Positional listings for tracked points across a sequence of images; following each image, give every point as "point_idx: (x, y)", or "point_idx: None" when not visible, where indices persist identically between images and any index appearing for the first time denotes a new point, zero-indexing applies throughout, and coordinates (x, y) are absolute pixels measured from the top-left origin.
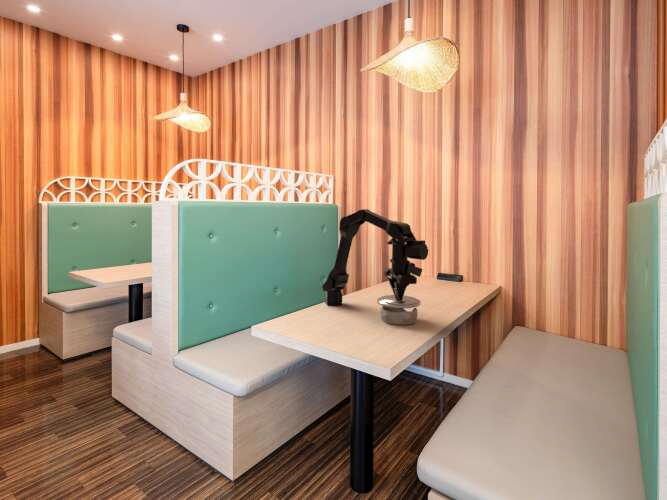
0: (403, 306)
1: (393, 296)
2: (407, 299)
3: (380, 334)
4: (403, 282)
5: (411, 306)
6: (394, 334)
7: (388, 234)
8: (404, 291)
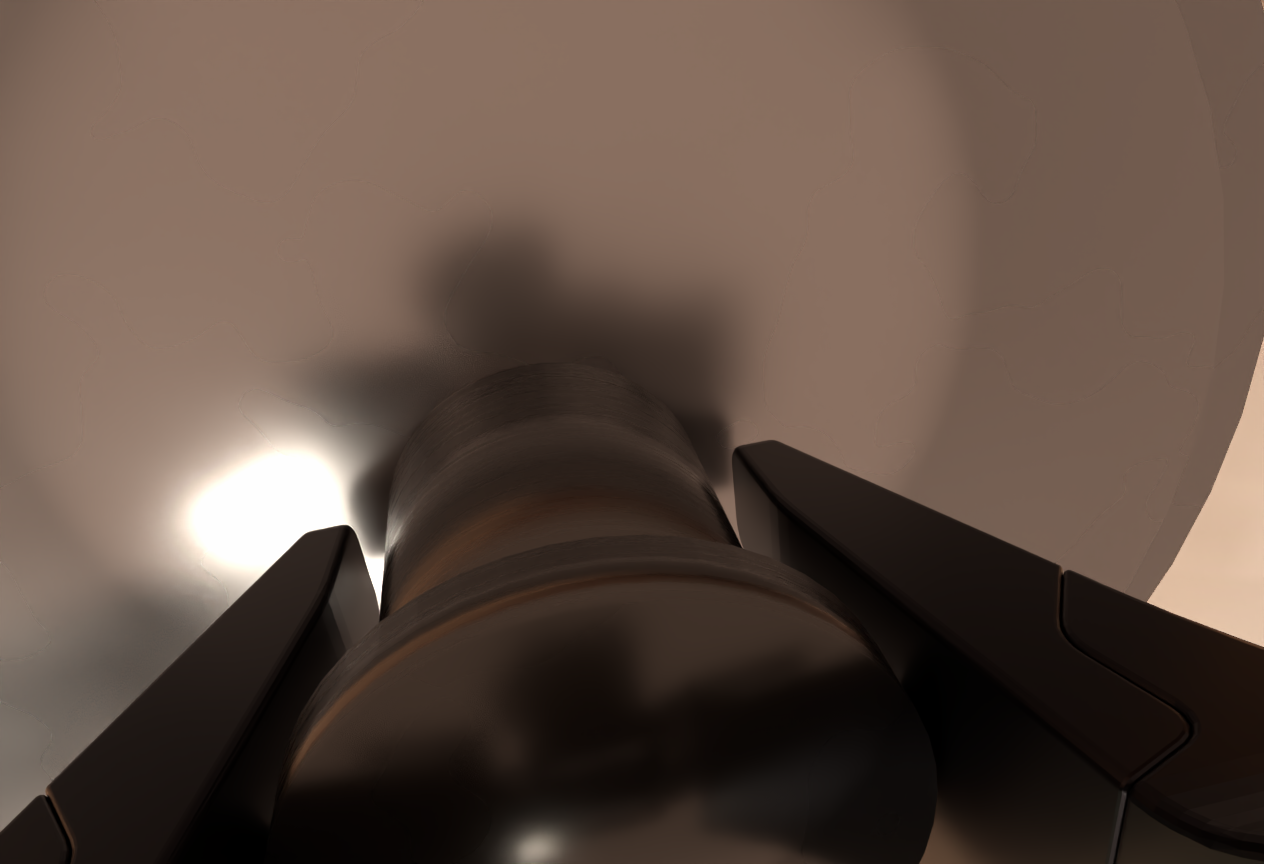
0: (1220, 429)
1: (90, 633)
2: (606, 168)
3: (1172, 611)
4: None
5: (1257, 167)
6: (1241, 444)
7: None
8: (1076, 590)
